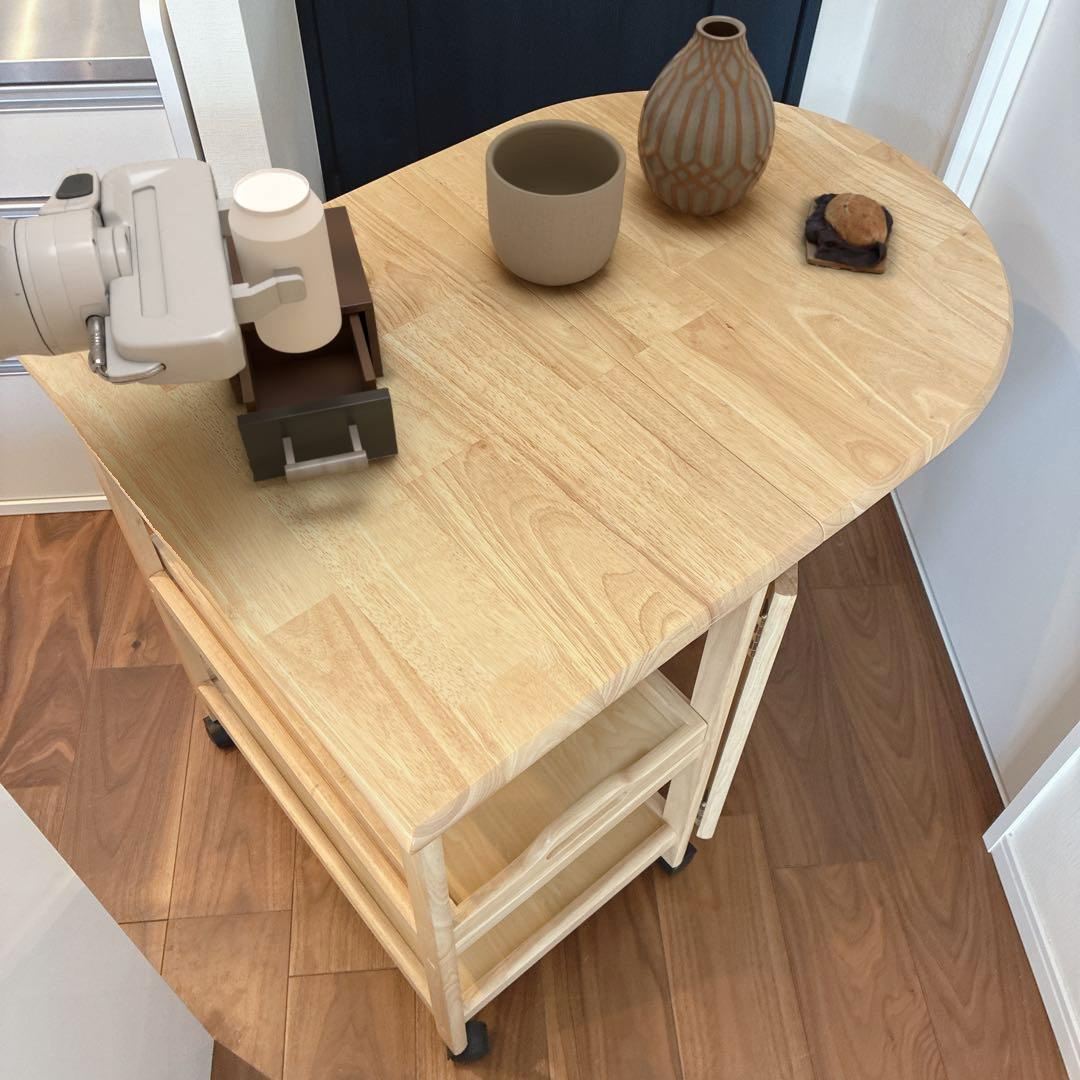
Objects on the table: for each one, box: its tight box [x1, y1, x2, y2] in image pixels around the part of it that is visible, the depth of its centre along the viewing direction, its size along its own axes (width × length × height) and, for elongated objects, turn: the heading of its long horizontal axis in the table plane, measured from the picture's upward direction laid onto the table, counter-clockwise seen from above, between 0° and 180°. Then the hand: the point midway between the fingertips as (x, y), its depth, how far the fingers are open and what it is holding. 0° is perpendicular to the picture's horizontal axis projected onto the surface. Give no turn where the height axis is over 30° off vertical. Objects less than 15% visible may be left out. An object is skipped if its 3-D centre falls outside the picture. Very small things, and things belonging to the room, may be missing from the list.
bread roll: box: [804, 192, 894, 274], centre depth 103 cm, size 11×8×4 cm
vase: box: [636, 15, 776, 217], centre depth 101 cm, size 13×13×18 cm
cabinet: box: [225, 205, 384, 403], centre depth 91 cm, size 14×13×8 cm
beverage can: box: [228, 167, 342, 353], centre depth 73 cm, size 6×6×12 cm
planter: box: [484, 118, 627, 287], centre depth 97 cm, size 12×12×11 cm
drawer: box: [235, 312, 399, 484], centre depth 83 cm, size 17×11×6 cm
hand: (296, 248), depth 72 cm, fingers closed on beverage can, 6 cm apart
